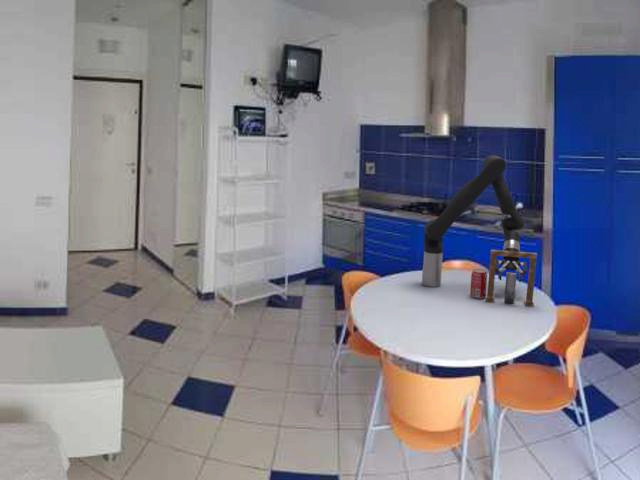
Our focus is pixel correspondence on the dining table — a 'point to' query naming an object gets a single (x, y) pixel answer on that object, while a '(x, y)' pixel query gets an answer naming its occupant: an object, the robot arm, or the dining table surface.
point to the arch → (530, 277)
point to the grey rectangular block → (510, 287)
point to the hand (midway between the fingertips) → (510, 280)
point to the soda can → (478, 283)
